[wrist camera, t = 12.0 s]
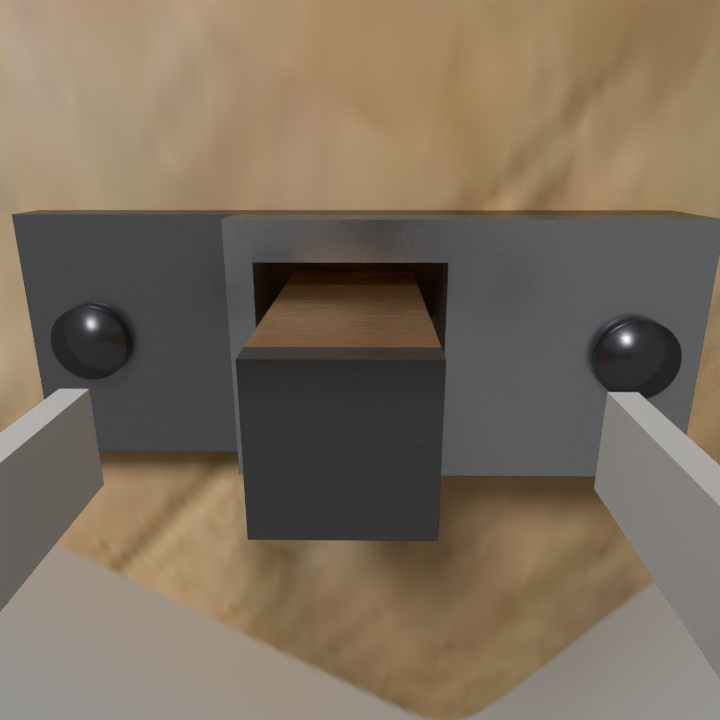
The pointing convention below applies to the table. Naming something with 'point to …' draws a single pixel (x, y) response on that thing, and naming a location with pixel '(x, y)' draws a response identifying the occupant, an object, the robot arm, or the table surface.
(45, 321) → the slotted plate with knobs
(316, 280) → the square wooden peg
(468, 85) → the table surface
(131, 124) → the table surface
